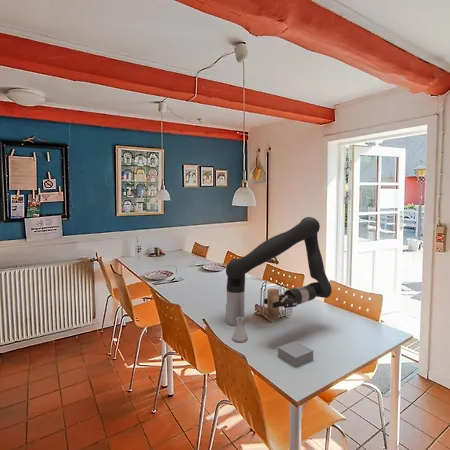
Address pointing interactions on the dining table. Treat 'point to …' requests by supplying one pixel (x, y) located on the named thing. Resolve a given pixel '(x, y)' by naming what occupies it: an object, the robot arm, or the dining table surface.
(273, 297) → the walnut cylinder
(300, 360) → the slate plinth
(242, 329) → the flask
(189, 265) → the dining table surface
